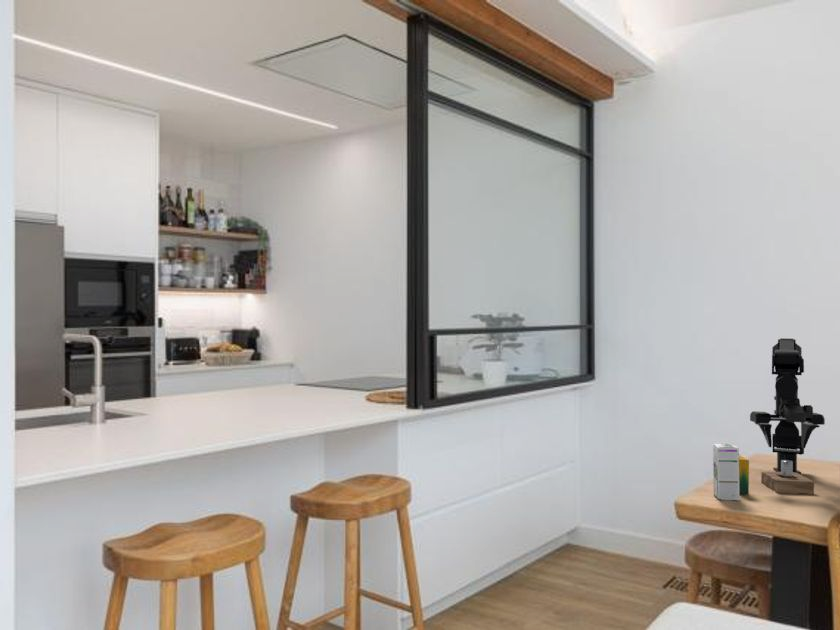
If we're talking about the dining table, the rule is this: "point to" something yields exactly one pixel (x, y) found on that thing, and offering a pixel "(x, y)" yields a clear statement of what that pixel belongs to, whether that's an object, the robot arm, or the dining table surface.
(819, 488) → the dining table surface
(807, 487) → the hole block
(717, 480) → the syrup box
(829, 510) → the dining table surface
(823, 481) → the dining table surface
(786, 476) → the peg
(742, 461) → the crayon box
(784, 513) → the dining table surface
